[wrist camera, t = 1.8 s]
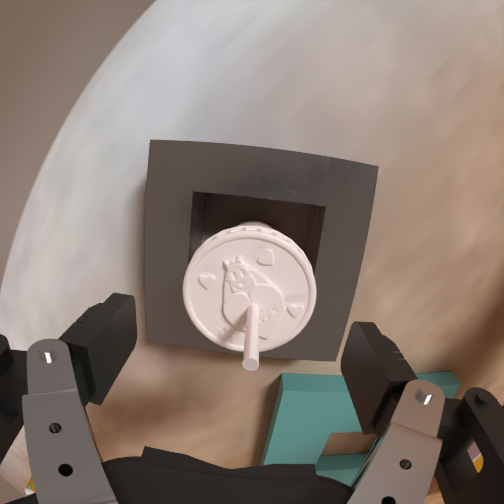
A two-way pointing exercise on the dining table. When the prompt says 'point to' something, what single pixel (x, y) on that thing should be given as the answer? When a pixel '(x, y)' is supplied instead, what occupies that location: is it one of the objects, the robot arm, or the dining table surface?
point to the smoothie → (249, 289)
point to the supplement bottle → (30, 488)
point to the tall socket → (259, 186)
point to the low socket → (322, 421)
